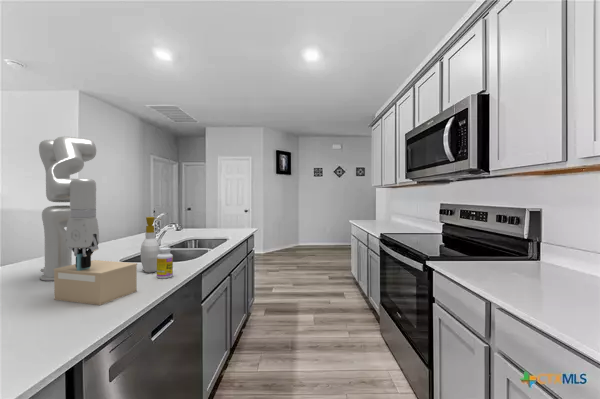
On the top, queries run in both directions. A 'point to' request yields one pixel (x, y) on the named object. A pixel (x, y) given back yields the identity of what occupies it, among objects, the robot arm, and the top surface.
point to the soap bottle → (149, 248)
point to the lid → (95, 266)
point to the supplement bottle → (164, 263)
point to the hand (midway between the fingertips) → (83, 266)
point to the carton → (94, 286)
